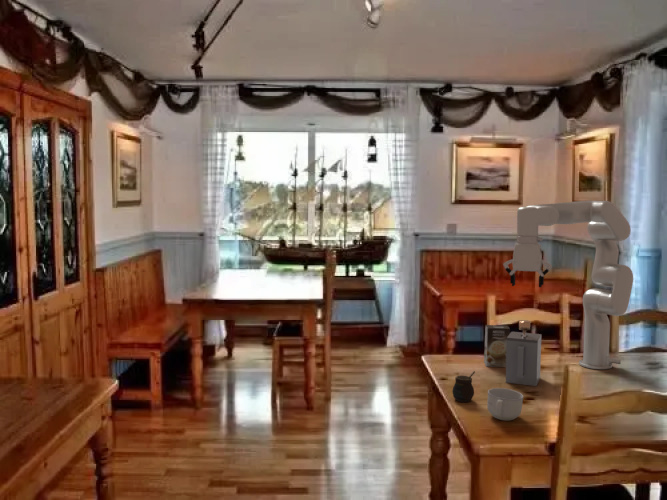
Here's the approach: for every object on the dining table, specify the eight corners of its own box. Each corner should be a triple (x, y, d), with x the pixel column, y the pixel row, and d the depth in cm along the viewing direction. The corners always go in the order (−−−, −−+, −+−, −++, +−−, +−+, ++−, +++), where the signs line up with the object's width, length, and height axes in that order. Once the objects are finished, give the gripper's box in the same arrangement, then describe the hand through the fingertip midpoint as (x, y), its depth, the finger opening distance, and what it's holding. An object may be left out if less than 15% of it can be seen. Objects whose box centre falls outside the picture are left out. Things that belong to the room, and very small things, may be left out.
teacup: (496, 409, 204) (496, 385, 203) (528, 416, 197) (528, 391, 197) (476, 421, 193) (477, 395, 193) (509, 429, 187) (510, 403, 186)
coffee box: (486, 366, 253) (486, 328, 252) (483, 362, 260) (484, 324, 258) (509, 367, 252) (510, 328, 251) (506, 363, 259) (507, 325, 257)
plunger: (537, 365, 237) (538, 320, 235) (534, 371, 229) (535, 324, 227) (513, 362, 241) (514, 318, 239) (509, 368, 232) (510, 322, 231)
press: (540, 378, 238) (541, 334, 236) (535, 388, 225) (536, 342, 223) (510, 374, 242) (511, 331, 241) (504, 384, 230) (505, 339, 228)
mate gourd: (447, 398, 215) (448, 369, 214) (466, 396, 217) (467, 367, 217) (459, 404, 208) (460, 375, 207) (478, 402, 211) (479, 373, 210)
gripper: (553, 239, 230) (552, 285, 232) (505, 239, 237) (504, 283, 239) (551, 241, 223) (550, 288, 225) (501, 240, 231) (501, 286, 232)
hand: (526, 286), depth 232 cm, fingers open, 9 cm apart
